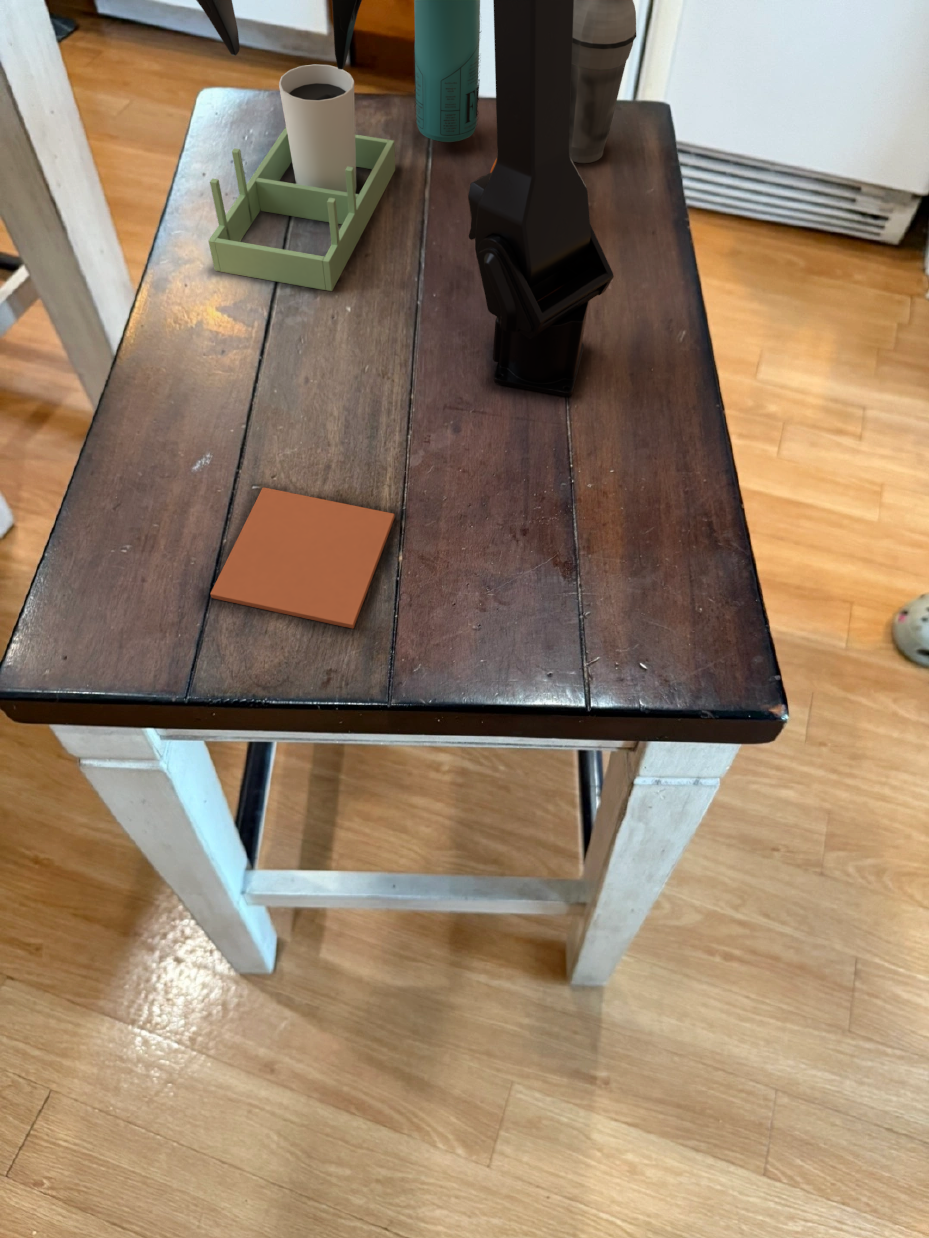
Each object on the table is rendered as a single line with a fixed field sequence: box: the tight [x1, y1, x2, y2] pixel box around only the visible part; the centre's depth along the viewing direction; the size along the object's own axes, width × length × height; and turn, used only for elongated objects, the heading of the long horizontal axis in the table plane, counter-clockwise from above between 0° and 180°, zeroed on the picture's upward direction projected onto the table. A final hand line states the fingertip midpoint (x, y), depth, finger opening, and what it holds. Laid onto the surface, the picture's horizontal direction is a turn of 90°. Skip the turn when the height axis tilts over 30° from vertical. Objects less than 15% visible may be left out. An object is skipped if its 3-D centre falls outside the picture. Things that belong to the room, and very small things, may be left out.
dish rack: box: [208, 126, 396, 292], centre depth 85 cm, size 11×20×7 cm, turn 167°
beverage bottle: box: [412, 0, 483, 143], centre depth 88 cm, size 6×7×20 cm
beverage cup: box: [569, 0, 637, 164], centre depth 87 cm, size 7×7×20 cm
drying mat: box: [210, 487, 396, 630], centre depth 64 cm, size 10×10×1 cm
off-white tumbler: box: [278, 63, 357, 193], centre depth 86 cm, size 7×7×10 cm
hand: (288, 60), depth 77 cm, fingers open, 9 cm apart
